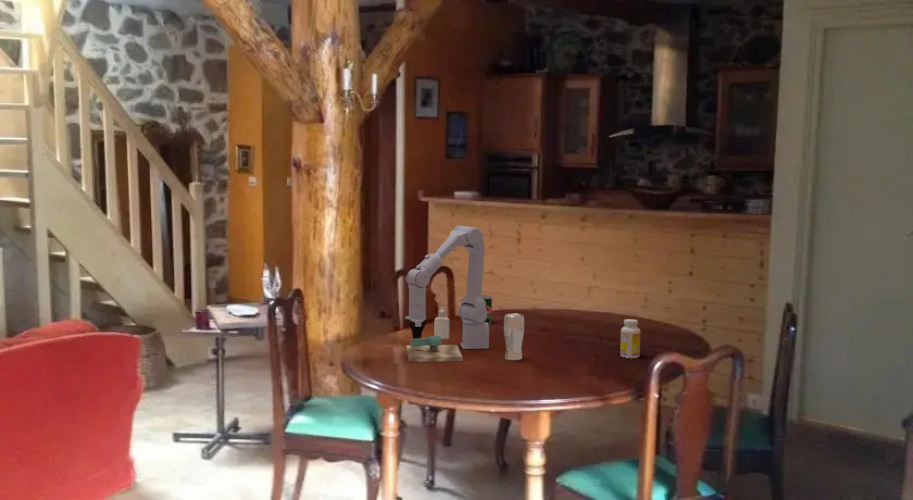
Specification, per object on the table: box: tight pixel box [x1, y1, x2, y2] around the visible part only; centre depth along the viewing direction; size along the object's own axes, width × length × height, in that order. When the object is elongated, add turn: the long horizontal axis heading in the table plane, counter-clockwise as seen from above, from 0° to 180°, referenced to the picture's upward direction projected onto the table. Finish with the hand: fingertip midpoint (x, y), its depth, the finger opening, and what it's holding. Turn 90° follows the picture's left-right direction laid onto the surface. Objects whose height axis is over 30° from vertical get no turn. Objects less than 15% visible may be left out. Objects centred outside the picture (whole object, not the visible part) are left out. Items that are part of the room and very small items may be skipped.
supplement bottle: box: [619, 318, 641, 359], centre depth 303 cm, size 7×7×13 cm
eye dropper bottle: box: [433, 306, 450, 340], centre depth 328 cm, size 4×6×12 cm
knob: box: [410, 335, 442, 347], centre depth 301 cm, size 11×5×3 cm, turn 116°
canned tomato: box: [481, 294, 493, 326], centre depth 358 cm, size 8×8×11 cm
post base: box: [406, 344, 463, 363], centre depth 303 cm, size 18×18×4 cm
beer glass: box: [503, 313, 525, 361], centre depth 299 cm, size 7×7×15 cm
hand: (416, 343), depth 301 cm, fingers closed, pressing on knob
